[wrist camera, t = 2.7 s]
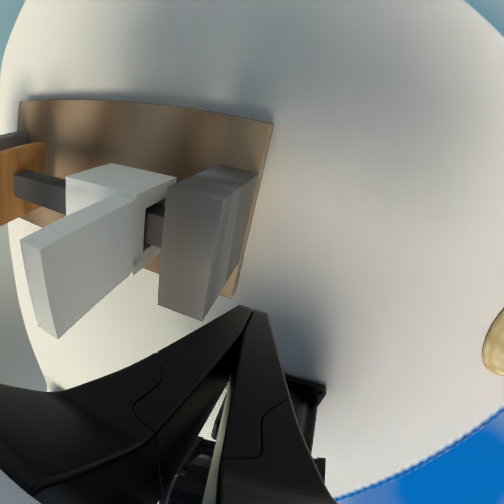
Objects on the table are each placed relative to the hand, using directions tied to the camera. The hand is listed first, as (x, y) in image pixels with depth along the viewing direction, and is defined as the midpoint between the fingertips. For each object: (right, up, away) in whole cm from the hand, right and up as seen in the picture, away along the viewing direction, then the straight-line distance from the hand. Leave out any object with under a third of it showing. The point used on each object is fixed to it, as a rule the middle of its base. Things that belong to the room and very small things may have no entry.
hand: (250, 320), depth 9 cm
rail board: (-9, +7, +9) cm, 15 cm away
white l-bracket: (-6, +4, +6) cm, 9 cm away
